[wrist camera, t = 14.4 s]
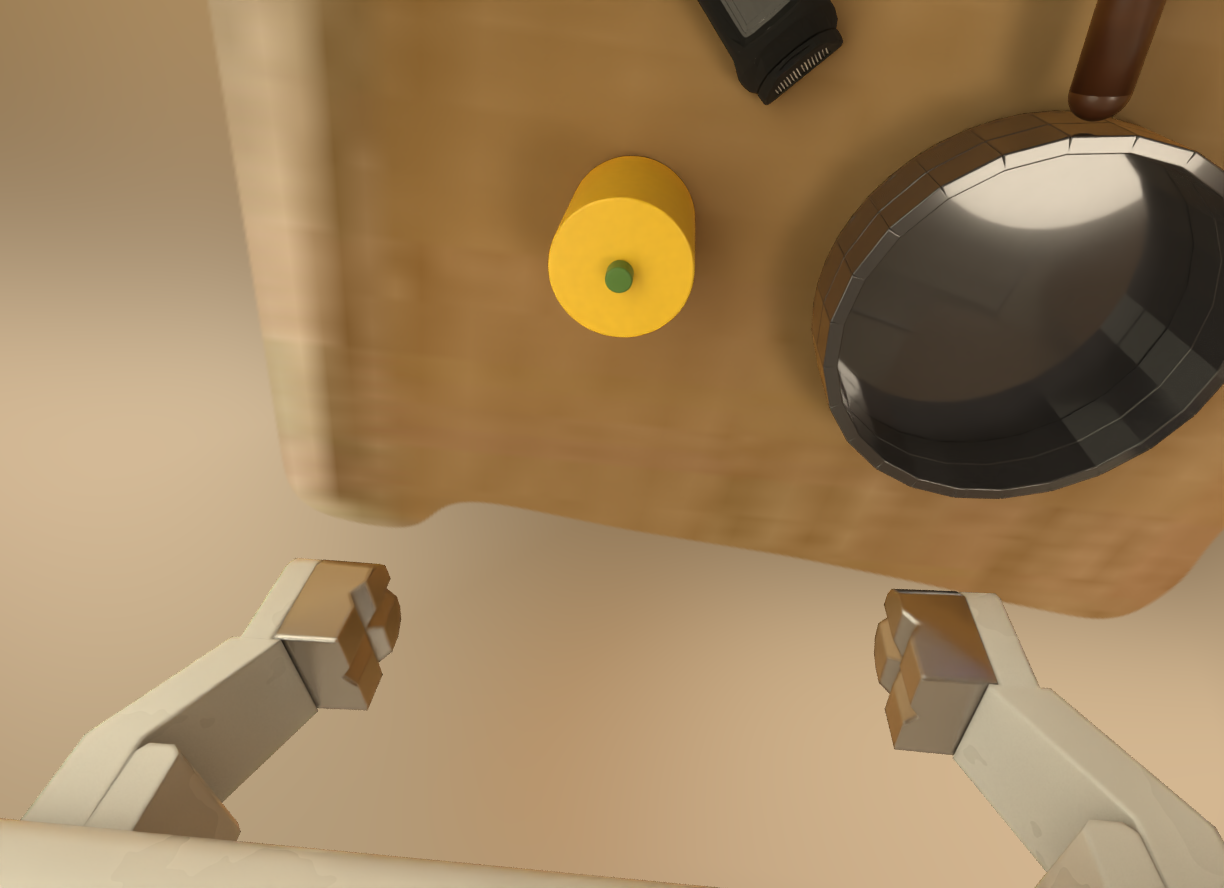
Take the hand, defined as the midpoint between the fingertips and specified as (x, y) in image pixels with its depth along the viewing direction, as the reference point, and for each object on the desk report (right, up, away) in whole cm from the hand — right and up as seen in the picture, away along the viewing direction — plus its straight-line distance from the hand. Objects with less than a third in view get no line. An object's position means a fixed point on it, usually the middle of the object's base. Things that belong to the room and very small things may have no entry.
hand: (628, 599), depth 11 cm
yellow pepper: (+1, +12, +19) cm, 22 cm away
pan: (+17, +9, +19) cm, 27 cm away
